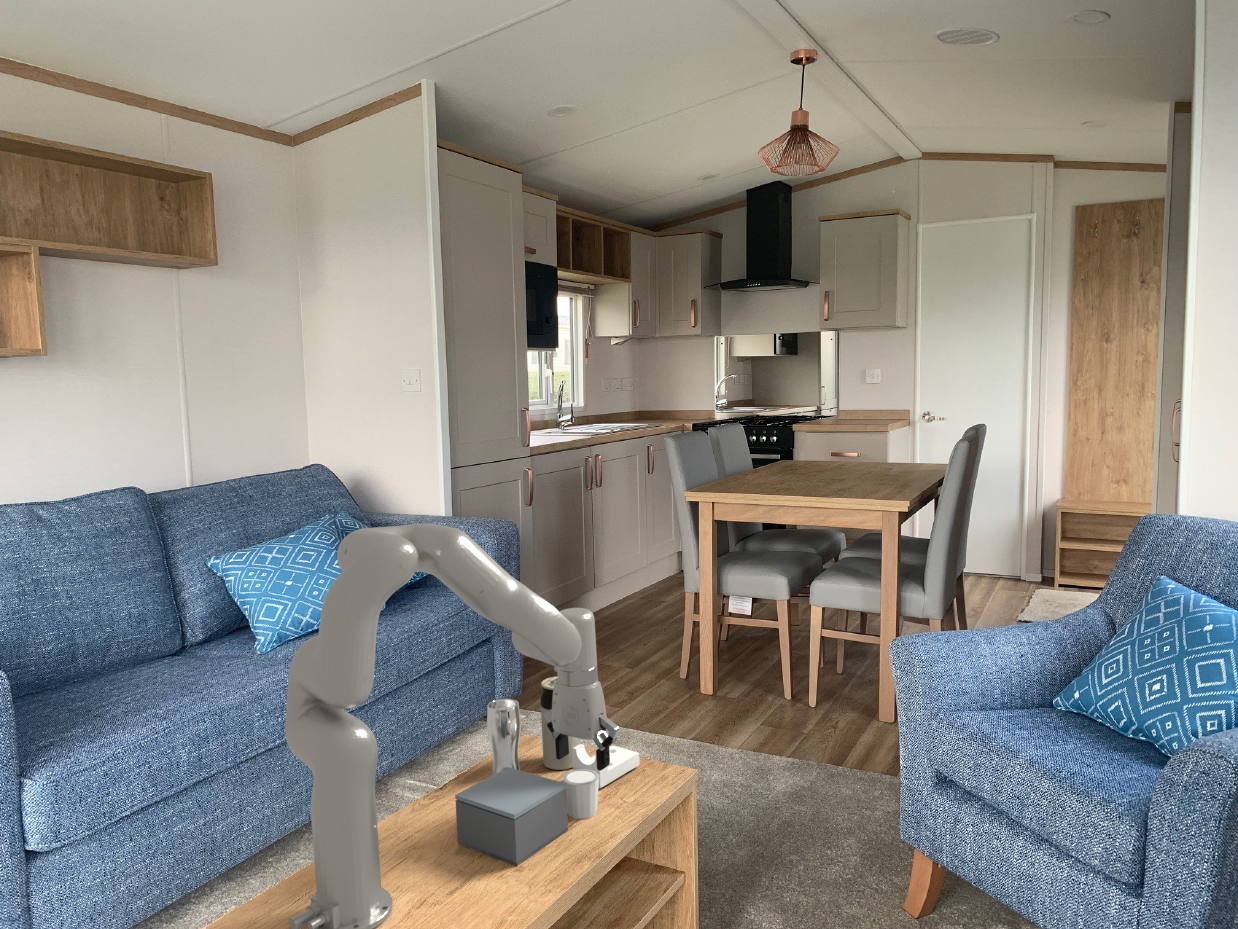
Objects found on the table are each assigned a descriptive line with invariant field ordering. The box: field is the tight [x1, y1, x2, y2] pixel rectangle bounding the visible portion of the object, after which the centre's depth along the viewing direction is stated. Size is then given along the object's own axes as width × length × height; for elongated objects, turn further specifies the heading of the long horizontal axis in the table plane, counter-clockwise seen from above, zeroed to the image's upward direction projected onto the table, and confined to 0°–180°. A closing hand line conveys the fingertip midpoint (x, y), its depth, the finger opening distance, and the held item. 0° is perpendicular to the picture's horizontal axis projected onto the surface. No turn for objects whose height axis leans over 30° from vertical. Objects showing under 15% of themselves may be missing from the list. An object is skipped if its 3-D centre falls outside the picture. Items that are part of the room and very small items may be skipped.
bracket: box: [572, 743, 640, 789], centre depth 181 cm, size 13×7×8 cm, turn 142°
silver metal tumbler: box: [486, 698, 522, 776], centre depth 183 cm, size 7×7×15 cm
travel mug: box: [540, 675, 581, 771], centre depth 187 cm, size 8×8×18 cm
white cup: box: [562, 769, 599, 820], centre depth 165 cm, size 7×7×7 cm
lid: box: [454, 767, 566, 819], centre depth 156 cm, size 14×14×1 cm
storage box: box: [455, 789, 569, 867], centre depth 157 cm, size 14×14×8 cm
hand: (582, 762), depth 165 cm, fingers open, 9 cm apart
